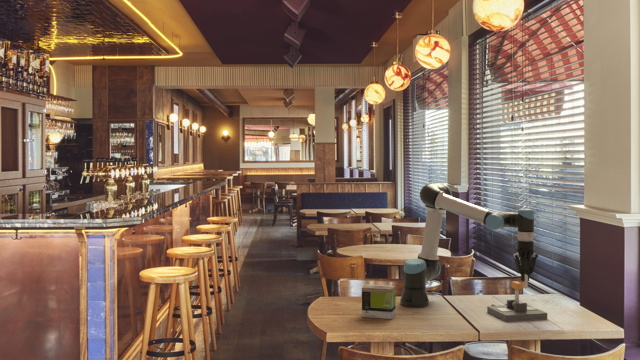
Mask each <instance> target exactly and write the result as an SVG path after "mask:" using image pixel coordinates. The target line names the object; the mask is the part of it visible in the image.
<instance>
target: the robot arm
mask: <svg viewBox="0 0 640 360" xmlns="http://www.w3.org/2000/svg"><path fill="white" fill-rule="evenodd" d="M419 198H420V201H421V202H422V203H423V204H424V205H425V206H424V207H425V208H426V211H427V212H426V217H425V224H424V231H423V238H422V245H421V251H420V253H418V254H417V258H412V259H407V260H406V261H404V262H403V268H402V269H403V290H402V294H401V296H400V299H399V303H400V305H401V306H404V307H407V308H425V307H429V305H430V301H429V300H430V299H429V297H428V294H427V291H426V290H427V289H426V288H427V287H426V286H427V282H429V281H433V280H435V279H436V278H438V277H439V275H440V273H441V270H442V269H441V264H440V262H439V261H440V257H439V256H438V249H439V242H440V235H441V230H442V223H443V217H444V212H445V211H447V212H451V213H453V214H455V215H457V216H460V217H463V218H466V219H468V220H471V221H473V222H477V223H480V224H482V225H485V226H486V227H487V228H488V229H490V230H493V231H496V230H497V231H498V230H500V229H503V228H514V229H515V228H517V250H516V253H514V254H512V257H513V259H514V264H515V269H516V273H517V274H520V282H521V283H523V288H522V289H528V287H529V286H528V285H529V284H528V283H529V281H530V276H531V274H534V270H535V265H536V262H537V259H538V258H539V254H537V253H536V252H534V247H535V245H534V239H535V238H534V236H535V232H534V231H535V211H534V210H533V209H532V208H519V209H518V210H517V212H510V211H503V210H502V211H492V210H489V209H487V208H484V207H481V206H479V205H476V204H473V203H470V202H468V201H465V200H462V199H461V198H456V197H454V196H453V192H452V190H451V188H450V186H448V185H447V184H445V183H441V182H440V183H439V182H437V183H428V184H425V185H424V186H422V188H421V189H420V191H419Z"/></svg>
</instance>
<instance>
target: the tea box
mask: <svg viewBox="0 0 640 360" xmlns="http://www.w3.org/2000/svg"><path fill="white" fill-rule="evenodd" d="M396 299H397V297H396V285H389V284H388V285H387V284H370V283H368V284H365V285H364V286H362V287H361V317H362V318H371V319H372V318H373V319H386V320H392V319H393V318H394V317H395V316H396V314H397V313H396V307H397V306H396V305H397V303H396V301H397V300H396Z"/></svg>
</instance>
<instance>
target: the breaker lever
mask: <svg viewBox="0 0 640 360" xmlns="http://www.w3.org/2000/svg"><path fill="white" fill-rule="evenodd" d="M511 288H512V289H514V300H515V302H513V303H512V307H514V303H520V290H523V289H524V288H523V283H522V282H521V281H511Z"/></svg>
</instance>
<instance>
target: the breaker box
mask: <svg viewBox="0 0 640 360" xmlns="http://www.w3.org/2000/svg"><path fill="white" fill-rule="evenodd" d="M513 302H515V299H506V303H505V304H504V305H495V304H491V305H488V306H487V310H486V311H487V313H488V314H490V315H491V316H494V317H496V318H497V319H500V320H501V321H503V322H506V323H507V322H508V323H509V322H523V321H539V320H540V321H541V320H548V312H546V311H543V310H541V309H539V308H537V307H534V306H532V305H530V304H528V303H527V302H519V303H514V307H512V303H513Z"/></svg>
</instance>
